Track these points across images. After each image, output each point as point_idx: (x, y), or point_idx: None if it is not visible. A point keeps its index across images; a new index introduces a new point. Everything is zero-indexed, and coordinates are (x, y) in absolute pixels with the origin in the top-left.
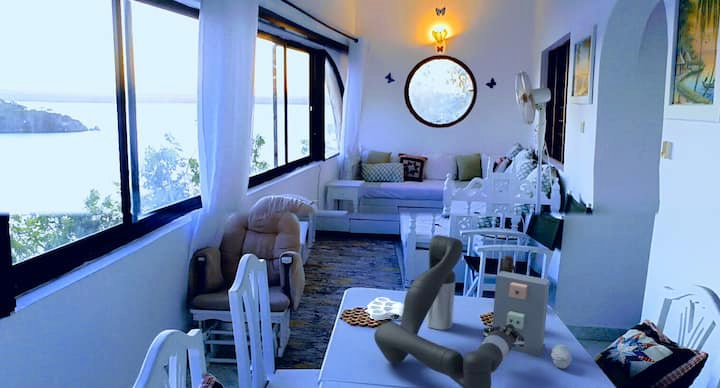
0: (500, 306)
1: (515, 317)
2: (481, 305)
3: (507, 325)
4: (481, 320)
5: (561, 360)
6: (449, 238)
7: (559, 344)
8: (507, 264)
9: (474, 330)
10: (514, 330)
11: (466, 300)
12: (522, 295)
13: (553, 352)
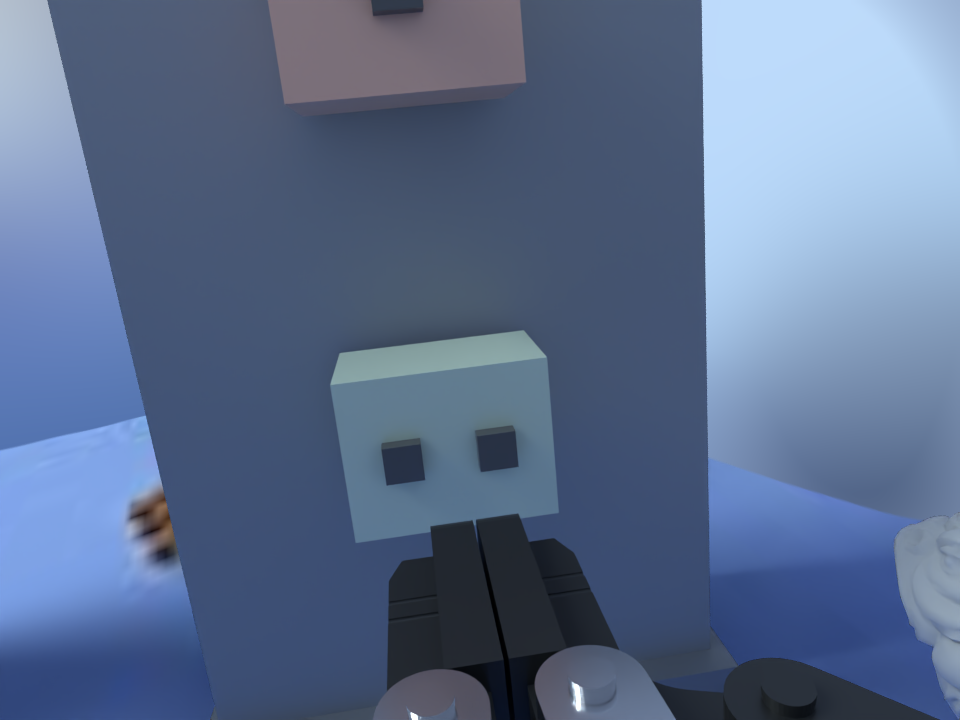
0: (214, 341)
1: (449, 394)
2: (144, 448)
3: (437, 580)
4: (137, 539)
5: None
6: None
7: None
8: None
9: (63, 665)
10: (730, 679)
11: (57, 451)
12: (483, 22)
13: None
